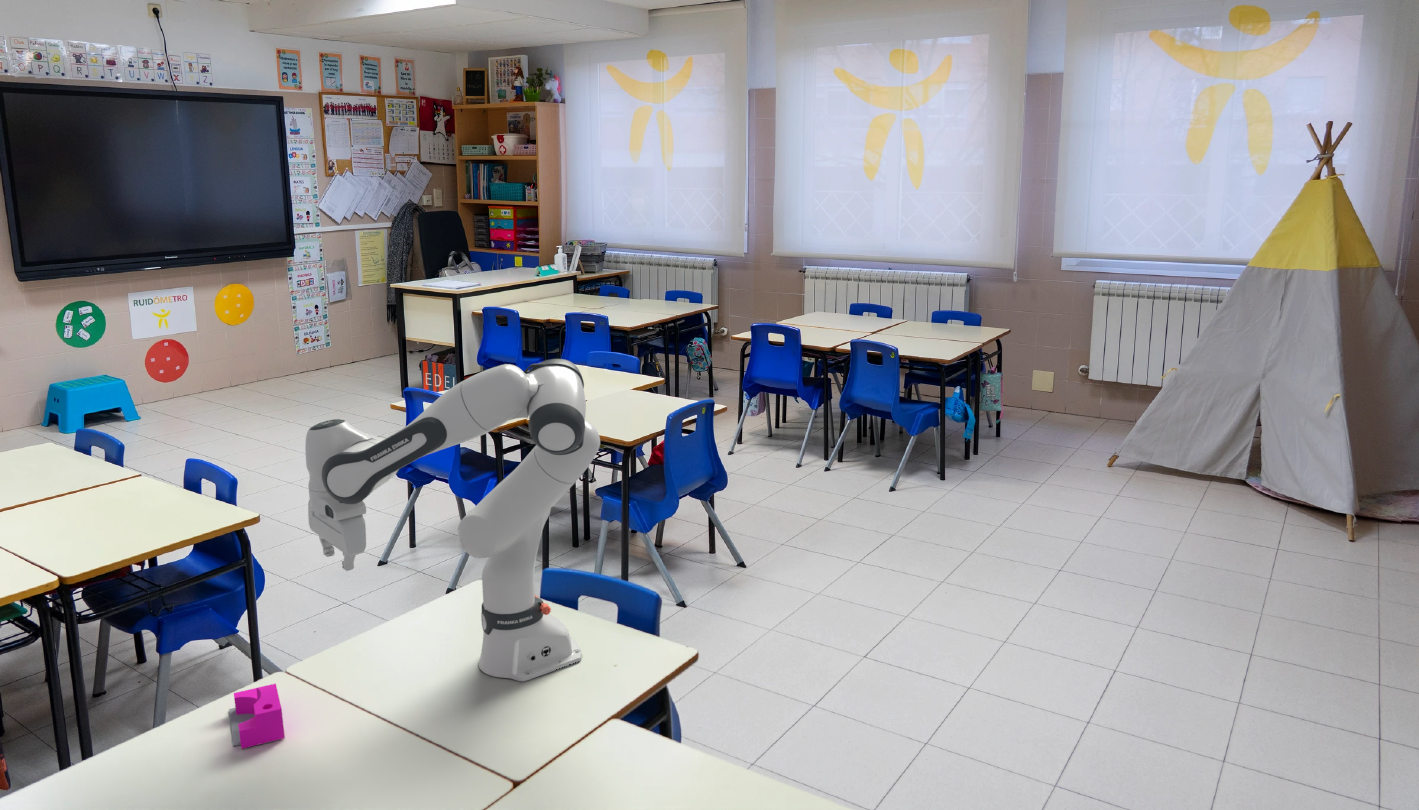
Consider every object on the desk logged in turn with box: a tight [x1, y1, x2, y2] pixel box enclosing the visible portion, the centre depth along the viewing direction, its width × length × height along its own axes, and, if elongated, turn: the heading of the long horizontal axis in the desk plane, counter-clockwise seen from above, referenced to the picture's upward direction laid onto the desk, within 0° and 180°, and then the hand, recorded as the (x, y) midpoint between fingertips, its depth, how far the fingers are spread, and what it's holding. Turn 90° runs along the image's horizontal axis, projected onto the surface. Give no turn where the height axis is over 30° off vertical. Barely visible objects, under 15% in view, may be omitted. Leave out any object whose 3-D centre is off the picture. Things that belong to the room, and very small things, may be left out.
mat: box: [228, 707, 255, 748], centre depth 191 cm, size 8×14×1 cm, turn 28°
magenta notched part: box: [233, 683, 286, 750], centre depth 189 cm, size 15×6×8 cm
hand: (338, 562), depth 200 cm, fingers open, 8 cm apart
